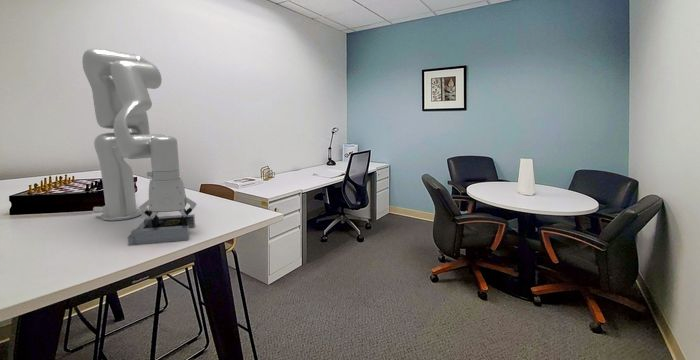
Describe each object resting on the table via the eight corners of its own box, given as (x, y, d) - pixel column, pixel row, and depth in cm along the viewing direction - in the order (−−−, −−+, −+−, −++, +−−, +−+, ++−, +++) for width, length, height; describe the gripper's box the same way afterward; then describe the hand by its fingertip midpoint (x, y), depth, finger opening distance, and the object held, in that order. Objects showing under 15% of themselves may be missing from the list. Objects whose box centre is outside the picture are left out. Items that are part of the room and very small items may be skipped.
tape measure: (159, 231, 107) (158, 220, 106) (182, 228, 110) (181, 217, 110) (159, 238, 101) (158, 226, 100) (183, 234, 104) (182, 223, 104)
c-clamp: (128, 245, 96) (127, 232, 95) (146, 226, 113) (145, 215, 112) (188, 240, 100) (187, 227, 100) (196, 222, 117) (195, 212, 117)
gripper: (130, 178, 96) (136, 234, 99) (194, 176, 101) (198, 230, 105) (138, 174, 103) (143, 227, 107) (197, 172, 108) (201, 223, 112)
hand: (170, 228), depth 106 cm, fingers closed on tape measure, 7 cm apart
